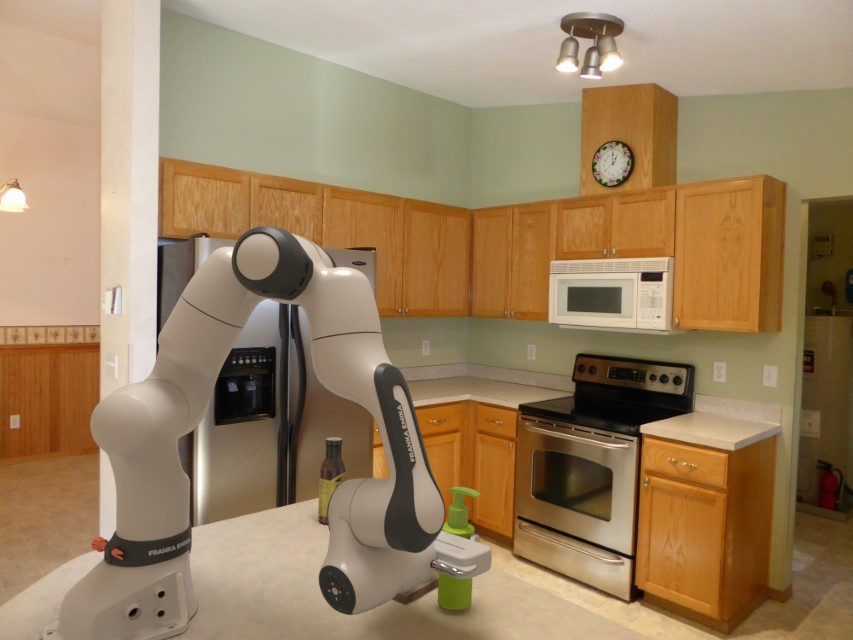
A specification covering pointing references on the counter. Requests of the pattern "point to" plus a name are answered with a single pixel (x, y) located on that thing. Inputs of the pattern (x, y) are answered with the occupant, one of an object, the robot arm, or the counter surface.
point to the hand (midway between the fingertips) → (458, 533)
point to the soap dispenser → (460, 590)
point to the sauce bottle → (330, 475)
